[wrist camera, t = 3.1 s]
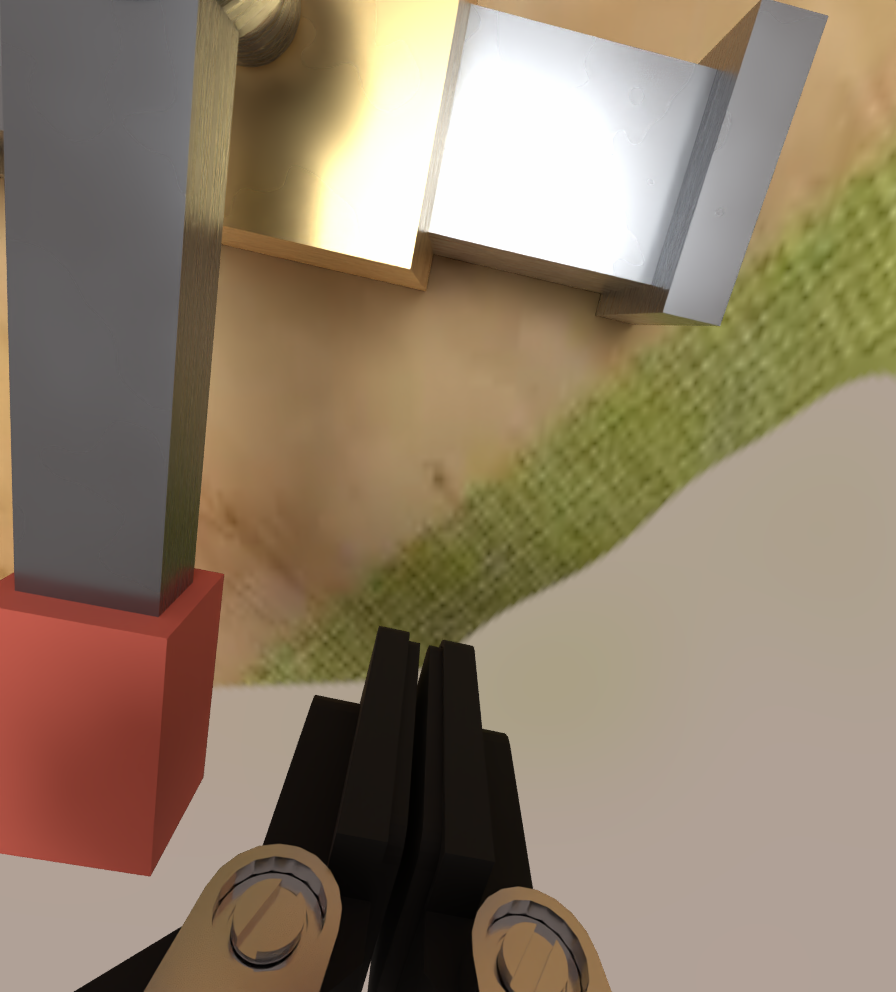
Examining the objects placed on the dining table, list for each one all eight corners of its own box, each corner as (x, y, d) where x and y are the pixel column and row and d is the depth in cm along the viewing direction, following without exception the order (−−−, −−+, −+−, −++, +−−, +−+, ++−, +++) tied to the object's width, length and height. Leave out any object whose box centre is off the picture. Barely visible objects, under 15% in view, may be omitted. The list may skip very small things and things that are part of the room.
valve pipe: (702, 103, 14) (1087, -224, 6) (630, 338, 16) (842, 358, 7) (-22, -86, 13) (-917, -865, 4) (-13, 190, 15) (-642, 10, 6)
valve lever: (36, -335, 5) (-153, -636, 4) (337, -245, 6) (290, -493, 4) (45, 750, 9) (-45, 846, 8) (220, 780, 10) (171, 879, 8)
